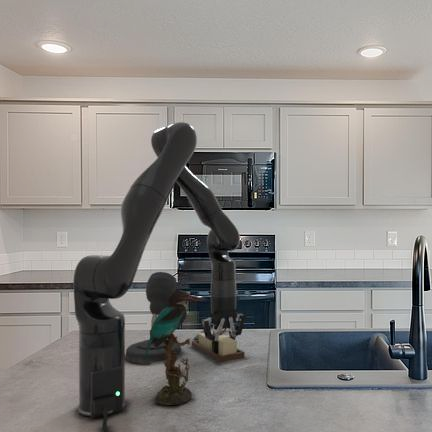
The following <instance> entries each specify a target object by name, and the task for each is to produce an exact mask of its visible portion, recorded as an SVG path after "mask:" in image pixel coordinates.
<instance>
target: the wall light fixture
mask: <svg viewBox="0 0 432 432" xmlns="http://www.w3.org/2000/svg"><path fill="white" fill-rule="evenodd" d="M177 287H178V286H177V278H176V277H175V276H174V275H172V274H171V273H168V272H165V271H155V272H154V273H151V274H150V276H149V278H148V280H147V282H146V288H145V296H146V300H147V301H148V302H149V303H150V304H149V311H150V313H151V320H150V322H151V323H150V330H149V332H150V331H151V328H152V326H153V323H154V321H155V319H156V318H157V316H158V315H159V314H160V312H161V311H162V310H163V309H165V306H167V303H168V300H169V297H170V295H171V294H172V293H173V292H174V291H176V290H177ZM153 342H154V340H153ZM153 342H152V343H151V345H150V348H149V350H148V353H147V355H146V357H145V359H144V360H143V358H144V355H145V353H146V349H147V346H148V343H149V339H145V340H142V341H138V342H134V343H132V344H130V345H129V346H128V347H127V348H125V361H128V362H129V363H132V364H140V365H149V364H152V363H159V362H165V361H166V357H165V356H166V355H167V352H166V350H165V349H164V347H165V345H166V344H164V342H163V343H161V344H160V345H159V346H158V347H157V348H156V347H155V346H154V343H153ZM181 347H182V346H179V345H178V344H176V343H175V344H174V345H173V346H172V350H174V351H176V352H177V355H178V356H180V354H181V353H182V348H181Z"/></svg>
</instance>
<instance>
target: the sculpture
mask: <svg viewBox="0 0 432 432" xmlns="http://www.w3.org/2000/svg"><path fill="white" fill-rule="evenodd" d="M186 302H195V303H197V302H205V299H202V298H201V297H196V296H193V295H190V294H189V293H188V291H186V290H182V289H176V291H174V292H173V293H172V294H171V295H170V297H169V300H168V303H167V305H165V307H164V308H163V310H162V311H161V312H160V314H158V315H157V318H156V319H155V321H154V323H153V326H152V328H151V327H150V330H151V331H150V330H149V339H148V340H149V343H148V346H147V349H146V353H145V355H144V358H143V360H144V359H145V357H146V355H147V353H148V350H149V348H150V345H151V343H152V342H153V340H154V342H153V343H154V346H155V347H156V348H157V347H158V346H159V345H160V344H161V343H163V342H164V344H166V345H165V347H164V349H165V350H166V352H167V355H166V356H165V357H166V360H164V361H163V364H164V367H165V378H166V380H167V385H164V386H163V387H162V388H161V389H160V390H159V391H158V392H157V393H156V396H155V399H154V402H155V403H156V404H157V405H162V406H176V405H181V404H184V403H186V402H188V401H189V400H190V399H191V398H192V391H191V390H190V389H189V388H187V387H185V386H186V385H187V382H188V381H189V371H190V368H191V367H190V363H189V358H188V357H185V358H181V360H180V362H181V363H178V366H177V365H175V364H176V362H177V361H178V358H179V355H177V352H176V351H174V350H172V346H173V345H174V344H175V343H176V344H178V345H179V346H181V347H184V346H186V345H188V346H190V345H191V338H187V339H186V340H184V341H183V342H182V341H181V342H180V341H178V336H176V335H175V334H174V332H175V331H176V330H177V329H178V328H180V327H181V326H182V325H183V324H184V323H185V320H186V319H187V315H188V305H187V303H186ZM181 364H183V365H184V366H185V367H184V370H183V368H181ZM181 378H183V380H182V383H181Z"/></svg>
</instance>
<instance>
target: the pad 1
mask: <svg viewBox="0 0 432 432" xmlns="http://www.w3.org/2000/svg"><path fill="white" fill-rule="evenodd" d="M211 333H212V331H211ZM198 334H199V344H200V345H202V346H204V347H206V348H207V349H209V350H211V340H209V339H207V338H206V337H205V334H204V333H201V332H199V333H198ZM219 336H221V335H219Z"/></svg>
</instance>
